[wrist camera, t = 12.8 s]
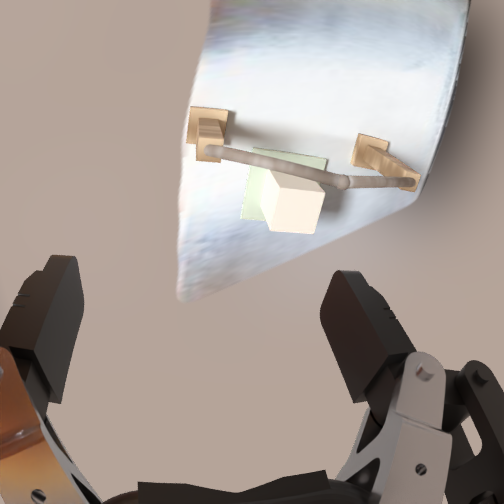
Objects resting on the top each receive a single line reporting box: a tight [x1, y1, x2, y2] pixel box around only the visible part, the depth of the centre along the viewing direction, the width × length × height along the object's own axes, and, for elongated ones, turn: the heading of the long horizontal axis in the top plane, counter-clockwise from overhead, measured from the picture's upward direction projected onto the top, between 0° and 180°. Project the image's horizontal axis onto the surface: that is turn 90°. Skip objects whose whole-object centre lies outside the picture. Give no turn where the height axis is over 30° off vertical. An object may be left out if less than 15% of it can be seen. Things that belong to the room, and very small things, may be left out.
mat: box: [241, 148, 327, 221], centre depth 39 cm, size 9×9×1 cm
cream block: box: [260, 169, 325, 234], centre depth 36 cm, size 5×5×6 cm
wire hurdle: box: [186, 106, 421, 192], centre depth 30 cm, size 4×24×15 cm, turn 80°
